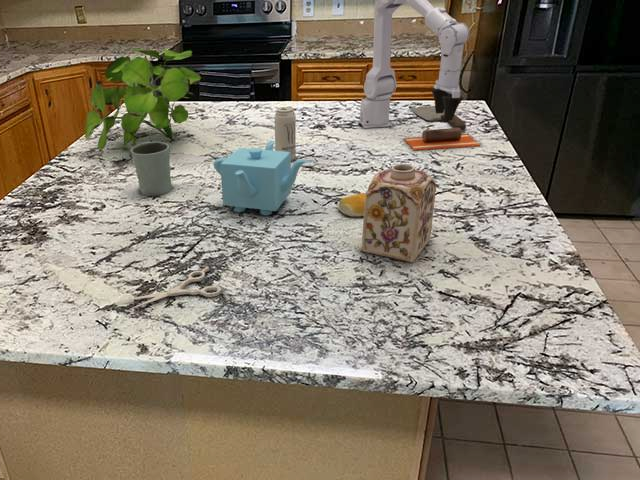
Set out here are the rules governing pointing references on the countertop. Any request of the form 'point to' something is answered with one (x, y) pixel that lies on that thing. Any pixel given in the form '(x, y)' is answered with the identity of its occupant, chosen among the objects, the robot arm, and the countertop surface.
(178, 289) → the scissors
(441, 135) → the rolling pin
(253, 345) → the countertop surface
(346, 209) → the bread roll
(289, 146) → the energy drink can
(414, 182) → the decorative jar
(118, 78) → the indoor plant
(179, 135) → the countertop surface
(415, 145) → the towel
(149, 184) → the grey cup
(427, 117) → the cleaver
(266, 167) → the teakettle
